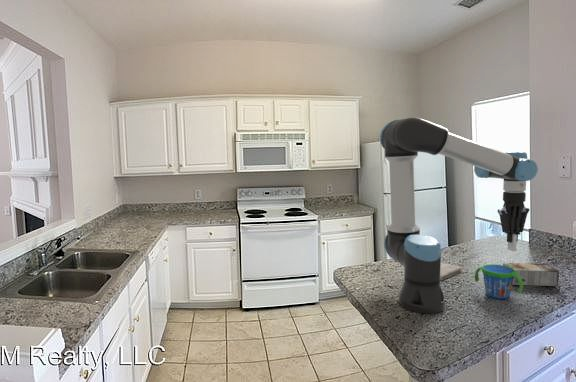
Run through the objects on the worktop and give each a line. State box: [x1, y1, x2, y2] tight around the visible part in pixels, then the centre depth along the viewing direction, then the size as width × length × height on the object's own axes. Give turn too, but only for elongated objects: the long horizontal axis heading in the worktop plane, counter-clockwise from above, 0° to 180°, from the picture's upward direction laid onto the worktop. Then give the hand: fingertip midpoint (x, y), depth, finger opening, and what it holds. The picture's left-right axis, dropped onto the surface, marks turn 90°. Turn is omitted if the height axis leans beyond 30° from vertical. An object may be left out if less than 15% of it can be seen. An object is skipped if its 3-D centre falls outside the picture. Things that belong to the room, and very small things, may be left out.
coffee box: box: [502, 262, 560, 287], centre depth 140 cm, size 9×6×16 cm
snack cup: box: [474, 264, 524, 300], centre depth 129 cm, size 16×10×10 cm
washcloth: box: [440, 261, 463, 282], centre depth 155 cm, size 12×18×3 cm, turn 128°
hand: (511, 249), depth 142 cm, fingers closed
